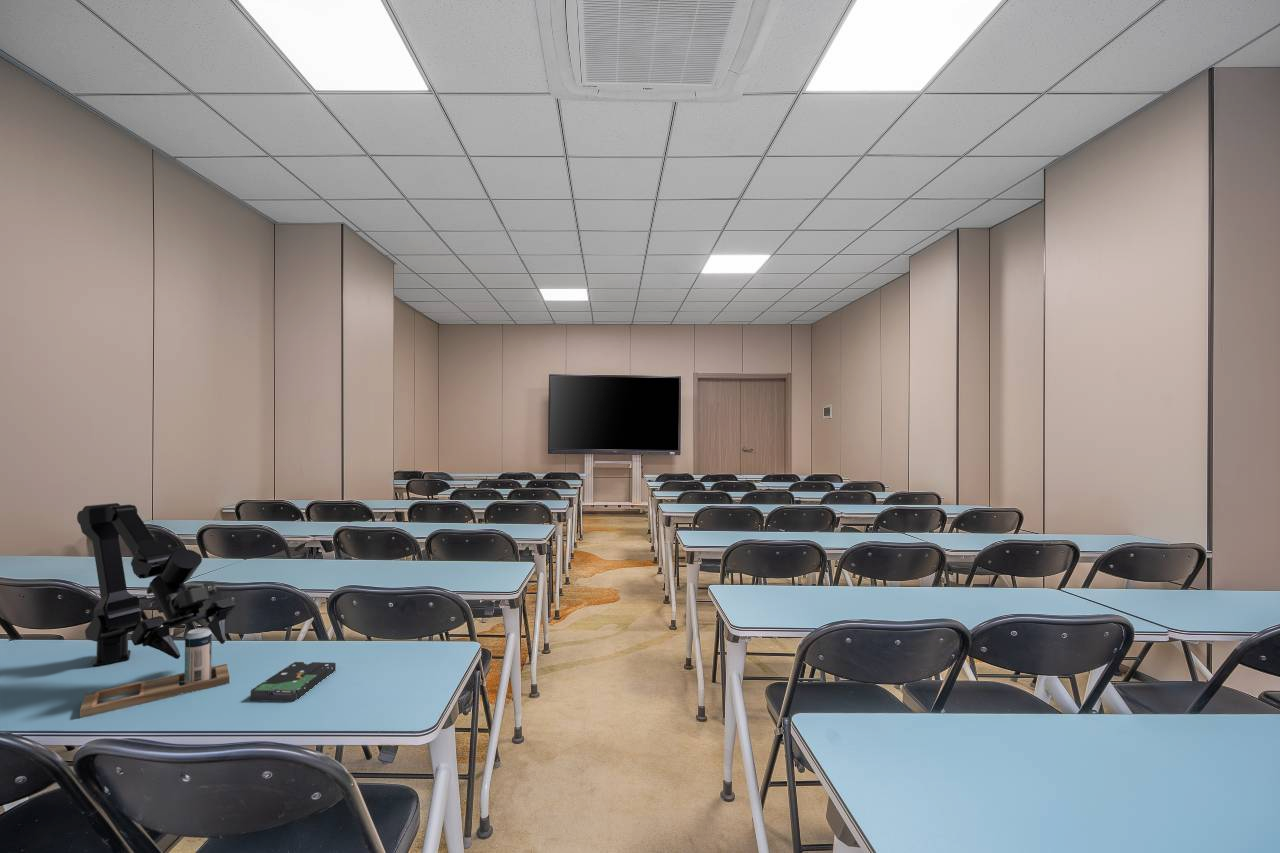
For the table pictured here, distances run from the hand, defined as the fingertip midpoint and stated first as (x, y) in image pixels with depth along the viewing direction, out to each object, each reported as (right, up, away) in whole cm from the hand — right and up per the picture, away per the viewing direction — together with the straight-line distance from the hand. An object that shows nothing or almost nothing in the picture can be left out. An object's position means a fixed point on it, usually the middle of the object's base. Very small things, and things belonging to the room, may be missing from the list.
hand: (201, 649), depth 125 cm
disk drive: (+21, -9, 0) cm, 23 cm away
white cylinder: (-1, -8, 0) cm, 8 cm away
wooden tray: (-6, -8, -4) cm, 11 cm away
